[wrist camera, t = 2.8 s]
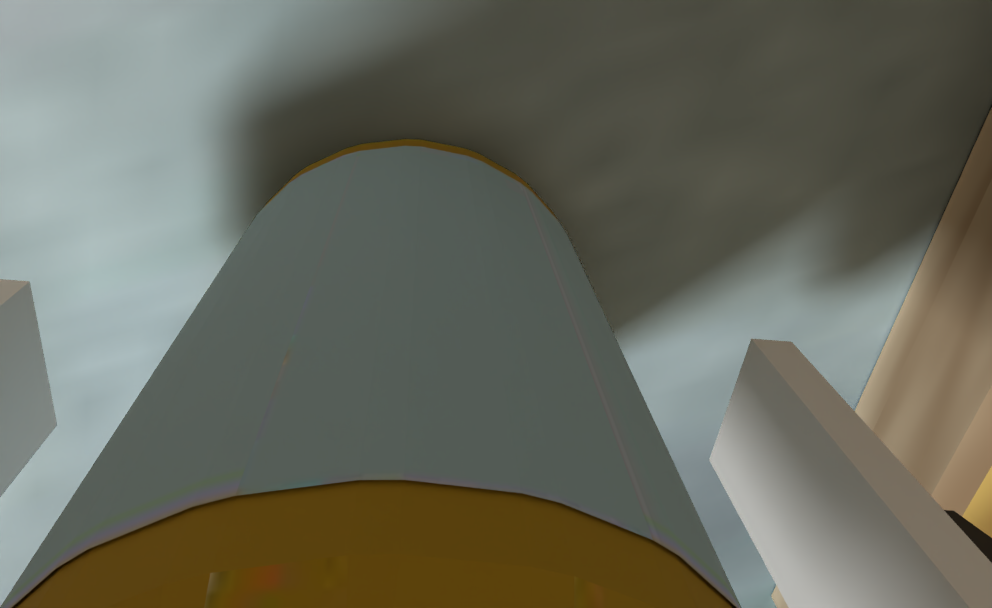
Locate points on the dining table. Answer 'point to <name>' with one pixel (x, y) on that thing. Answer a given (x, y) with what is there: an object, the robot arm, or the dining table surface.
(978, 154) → the caddy
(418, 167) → the bottle
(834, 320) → the dining table surface
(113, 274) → the dining table surface
